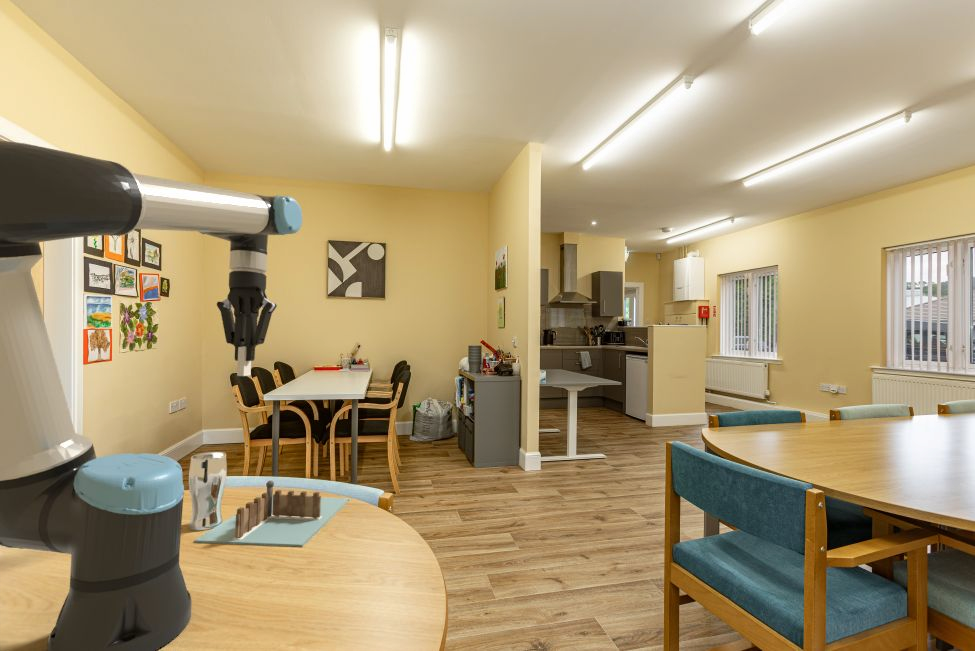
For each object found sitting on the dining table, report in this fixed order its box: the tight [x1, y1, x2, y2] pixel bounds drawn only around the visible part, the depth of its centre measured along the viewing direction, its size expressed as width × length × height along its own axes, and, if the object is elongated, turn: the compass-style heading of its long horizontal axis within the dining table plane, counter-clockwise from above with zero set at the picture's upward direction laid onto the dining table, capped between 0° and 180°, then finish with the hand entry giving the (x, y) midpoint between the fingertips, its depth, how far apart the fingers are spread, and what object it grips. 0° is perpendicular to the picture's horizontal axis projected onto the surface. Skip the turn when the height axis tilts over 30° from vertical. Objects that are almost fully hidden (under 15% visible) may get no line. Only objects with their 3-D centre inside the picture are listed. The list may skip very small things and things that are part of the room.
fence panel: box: [272, 489, 322, 518], centre depth 100 cm, size 11×1×5 cm, turn 85°
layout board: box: [193, 497, 350, 548], centre depth 100 cm, size 26×22×1 cm
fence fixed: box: [235, 480, 275, 538], centre depth 95 cm, size 13×2×8 cm, turn 177°
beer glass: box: [188, 451, 228, 532], centre depth 96 cm, size 7×7×15 cm
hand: (243, 375), depth 100 cm, fingers closed
